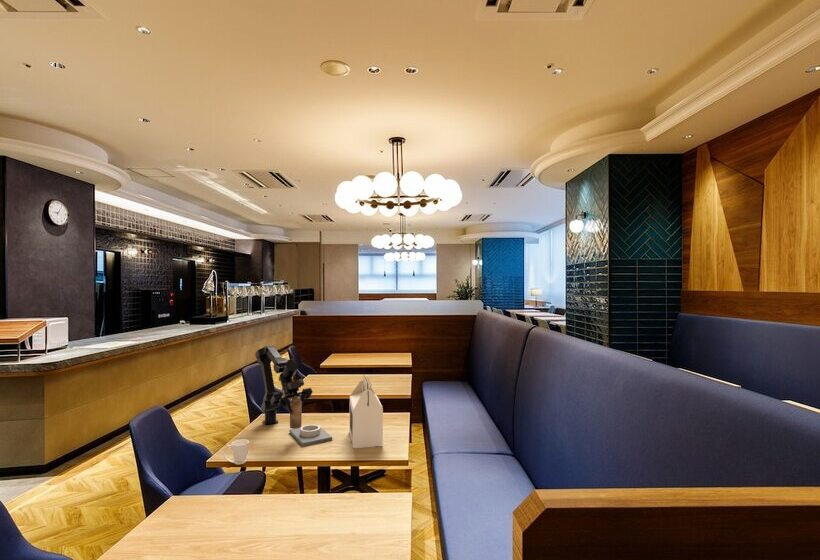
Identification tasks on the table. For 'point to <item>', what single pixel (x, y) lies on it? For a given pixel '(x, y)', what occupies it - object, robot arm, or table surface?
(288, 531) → the table surface
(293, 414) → the pepper mill
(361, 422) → the gable box
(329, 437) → the caddy board
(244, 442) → the cup
